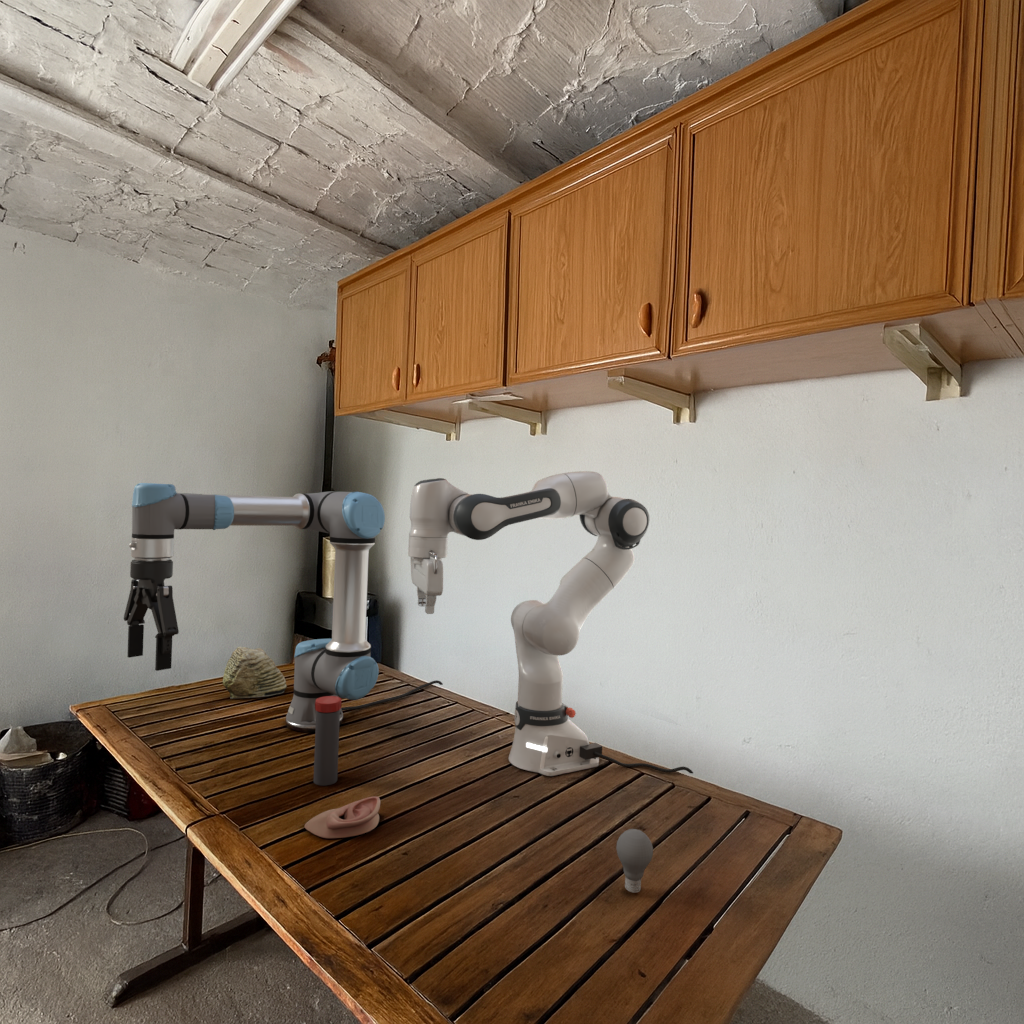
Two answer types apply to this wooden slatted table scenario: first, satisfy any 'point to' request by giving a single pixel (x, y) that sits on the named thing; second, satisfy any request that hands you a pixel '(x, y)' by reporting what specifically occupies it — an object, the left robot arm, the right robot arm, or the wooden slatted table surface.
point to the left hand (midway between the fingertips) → (148, 662)
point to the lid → (328, 704)
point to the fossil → (252, 674)
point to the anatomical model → (346, 819)
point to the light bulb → (634, 857)
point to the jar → (326, 748)
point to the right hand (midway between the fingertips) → (425, 609)
